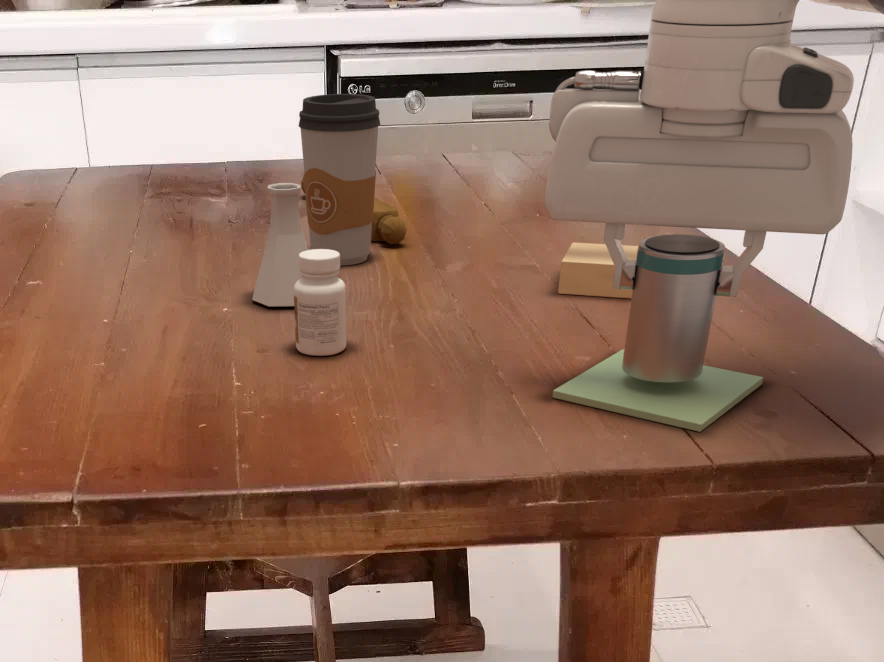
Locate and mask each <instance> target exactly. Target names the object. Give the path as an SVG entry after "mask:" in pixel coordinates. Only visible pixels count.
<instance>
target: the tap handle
mask: <svg viewBox="0 0 884 662" xmlns="http://www.w3.org/2000/svg"><path fill="white" fill-rule="evenodd" d="M300 185H301V190H302V192H303V194H305V183H304V176H302V179H301V181H300ZM399 216H400V215H399V211H398V208H397V207H394V206H392V205H390V204H388V203H386V202H385V201H383V200H381V199H379V198H377V197H375V196H374V210H373V222H372V229H371V242H387V243H388V244H389V245H396V244H397V245H398V244H400V243H401V242H402V241H403V240H404V239H405V238H406V234H407V225H406V222H405V221H404V220H403V219H402V218H400V217H399Z"/></svg>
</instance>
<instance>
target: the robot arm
mask: <svg viewBox="0 0 884 662" xmlns="http://www.w3.org/2000/svg"><path fill="white" fill-rule="evenodd" d="M809 1H810V2H813V3H817V4H821V5H825V6H826V5H827V6H833V7H840V8H843V9H845V10H850V11H851V10H852V11H857V12H867V13H873V14H882V15H884V0H809ZM799 2H800V0H655V2H654V5H653V8H652V11H651V17H650V25H649V32H648V38H647V44H646V45H647V46H646V52H645V60H644V65H643V66H644V67H643V70H614V71H607V72H606V71H603V72H602V71H597V70H594V69H593V70H591V69H588V70H587V69H585V70H580V71H576V72H575V76H572V77H569V78H567V79H565V80H564V81H562V82H561V83H560V84H559V85H558V86H557V88H556V89H555V90H554V93H553V95H552V97H551V103H550V109H549V110H550V111H549V121H548V126H549V132H550V136H551V138H552V139H553V140H554V142H555V143H554V147H553V151H552V155H551V159H550V164H549V167H548V168H549V169H548V173H547V179H546V185H545V192H544V200H543V206H544V209H545V210H546V212H547V214H548V215H549V216H550V218H551V219H552V220H553V221H559V222H576V223H577V222H578V223H595V224H597V223H598V224H605V225H604V234H603V241H604V244H606V246H607V249H608V251H609V254H610V256H611V258H612V261H613V263H614V264H615V265H616V266H615V274H614V281H613V289H627V290H633V285H634V277H635V272H636V260H631V259H627V257H626V254H625V252H624V249H623V246H622V245H623V244H622V242H621V241H622V240H623V239H624V237H625V236H626V233H627V229H628V225H633V226H634V225H635V226H650V227H651V226H652V227H672V228H673V227H674V228H690V229H691V228H692V229H709V230H712V229H713V230H729V231H744V234H743V242H742V246H743V248H745V249H744V250H743V251H742V253H741V254H740V255H739V257H738V258H737V259H736V261H735V262H734V263H733V264H732V265H730V264H729V265H727V264H726V265H725V264H723V265H722V268H721V270H720V275H719V284H718V286H717V291H716V297H717V296H718V297H729V298H730V297H731V298H737V296H738V291H739V286H740V283H741V278H742V273H744V272H745V271H746V270H747V269H748V267H749V266H750V265H751V264H752V262H753V261H754V260H755V259H756V258H757V257H758V255H759V254H760V253H761V252H762V251H763V250H764V245H765V240H766V238H767V237H766V236H767V232H768V233H789V234H805V235H806V234H807V235H827V234H828V233H830V232H831V231H832V230H834V228H835V227H837V226H838V224H840V223H841V222H842V220H843V217H844V212H845V209H846V204H847V198H848V194H849V193H848V192H849V187H850V179H851V171H852V161H853V134H852V130H851V129H852V128H851V125H850V122H849V119H848V117H847V115H846V114H845V112H844V108H845V107H846V106H847V105H848V103H849V102H850V99H851V96H852V92H853V89H854V84H855V83H854V82H855V79H854V74H853V72H852V70H851V69H850V67H848V66H847V65H846V64H844V63H843V62H840V61H838V60H836V59H833V58H831V57H828V56H825V55H823V54H821V53H820V54H819V53H818V52H817V51H816V50H814V49H812V48H809V47H801V46H800V45H797V44H794V43H792V40H791V34H792V28H793V23H794V18H795V14H796V8H797V6H798V4H799ZM571 85H574V88H568V87H569V86H571Z"/></svg>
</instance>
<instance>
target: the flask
mask: <svg viewBox="0 0 884 662" xmlns="http://www.w3.org/2000/svg"><path fill="white" fill-rule="evenodd" d="M266 189H267V194H268V195H269V196H270V222H269V230H268V235H267V239H266V243H265V247H264V253H263V256H262V259H261V264H260V267H259V271H258V274H257V278H256V281H255V286H254V290H253V295H252V301H254V302H257V303H259V304H262V305H264V306H267V307H294V285H295V283H296V282H297V281H298V280H299V279H301V278H302V276H301V274H299V254H300V253H301V252H303V251H307V250H310V249H309V246H308V243H307V240H306V237H305V234H304V230H303V226H302V221H301V215H300V211H299V195H300V194H301V190H302V188H301V184H298V183H294V182H279V183H278V182H277V183H272V184H268V185H267V187H266Z"/></svg>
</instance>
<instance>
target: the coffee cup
mask: <svg viewBox="0 0 884 662" xmlns="http://www.w3.org/2000/svg"><path fill="white" fill-rule="evenodd" d="M298 115H299V121H298V127H299V128H300V137H301V139H300V140H301V149H302V163H303V177H304V183H305V193H304V195H305V206H306V216H307V224H308V232H309V245H310V250H312V249H329V250H334V251H337V252H339V254H340V266H351V265H357V264H362V263H364V262H366V261H367V260H368V255H369V254H371V242H372V241H371V229H372V222H373V210H374V197H375V194H376V179H377V171H376V165H377V149H378V134H379V126H381V120H380V109H378V108H377V102H376V97H375V96H373V95H368V94H357V93H331V94H319V95H312V96H308V97H305V98H303V99H302V110H300V111H299V114H298Z"/></svg>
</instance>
